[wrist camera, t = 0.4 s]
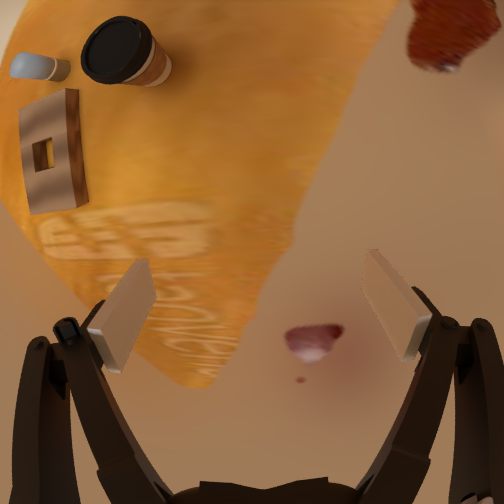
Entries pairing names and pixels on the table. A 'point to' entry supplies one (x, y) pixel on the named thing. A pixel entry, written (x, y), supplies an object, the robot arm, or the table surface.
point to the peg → (39, 67)
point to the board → (64, 150)
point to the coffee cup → (125, 54)
